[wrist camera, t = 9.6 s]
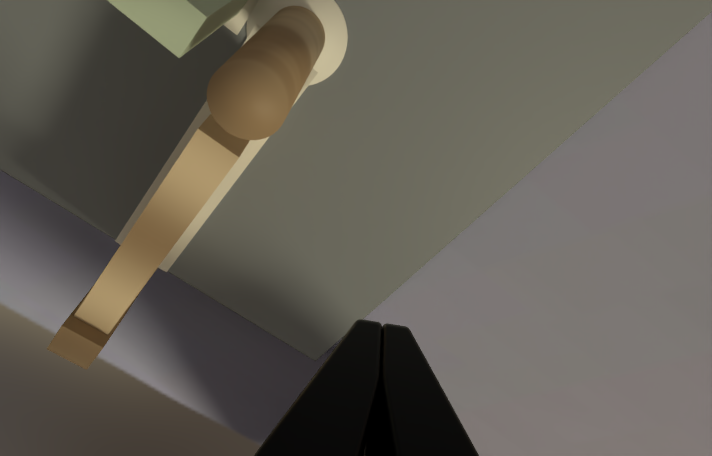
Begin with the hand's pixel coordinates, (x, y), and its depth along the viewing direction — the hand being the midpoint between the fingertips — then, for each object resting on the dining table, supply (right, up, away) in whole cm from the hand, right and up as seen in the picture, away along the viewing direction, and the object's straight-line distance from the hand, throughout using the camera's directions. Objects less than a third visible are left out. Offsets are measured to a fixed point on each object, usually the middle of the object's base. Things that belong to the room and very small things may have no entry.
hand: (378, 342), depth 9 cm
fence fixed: (-5, +5, +11) cm, 13 cm away
